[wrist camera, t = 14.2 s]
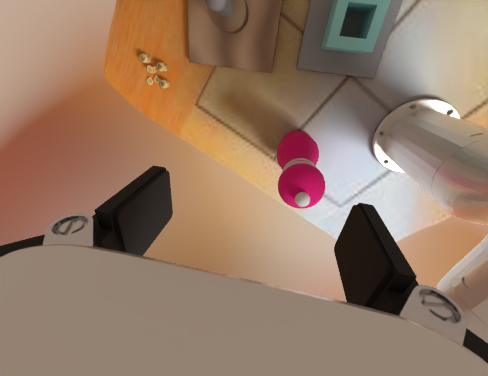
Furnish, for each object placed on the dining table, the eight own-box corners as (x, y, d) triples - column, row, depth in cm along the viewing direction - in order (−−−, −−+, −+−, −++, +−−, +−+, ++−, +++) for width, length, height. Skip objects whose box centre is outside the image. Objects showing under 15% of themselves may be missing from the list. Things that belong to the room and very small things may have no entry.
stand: (289, -45, 29) (290, -99, 19) (271, 72, 36) (265, 75, 26) (190, -52, 30) (145, -107, 20) (192, 62, 37) (159, 61, 28)
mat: (410, -25, 28) (412, -26, 27) (371, 78, 34) (373, 78, 33) (317, -32, 29) (317, -34, 28) (296, 68, 35) (296, 68, 35)
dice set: (145, 52, 39) (138, 52, 37) (171, 59, 38) (166, 58, 37) (146, 83, 41) (140, 84, 40) (171, 89, 41) (166, 90, 39)
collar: (378, 2, 29) (394, -9, 25) (361, 53, 32) (372, 52, 28) (333, -3, 30) (341, -14, 25) (320, 48, 33) (326, 46, 28)
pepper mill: (278, 128, 40) (271, 174, 23) (318, 127, 39) (341, 176, 22) (277, 163, 44) (271, 225, 27) (313, 163, 43) (331, 230, 26)
